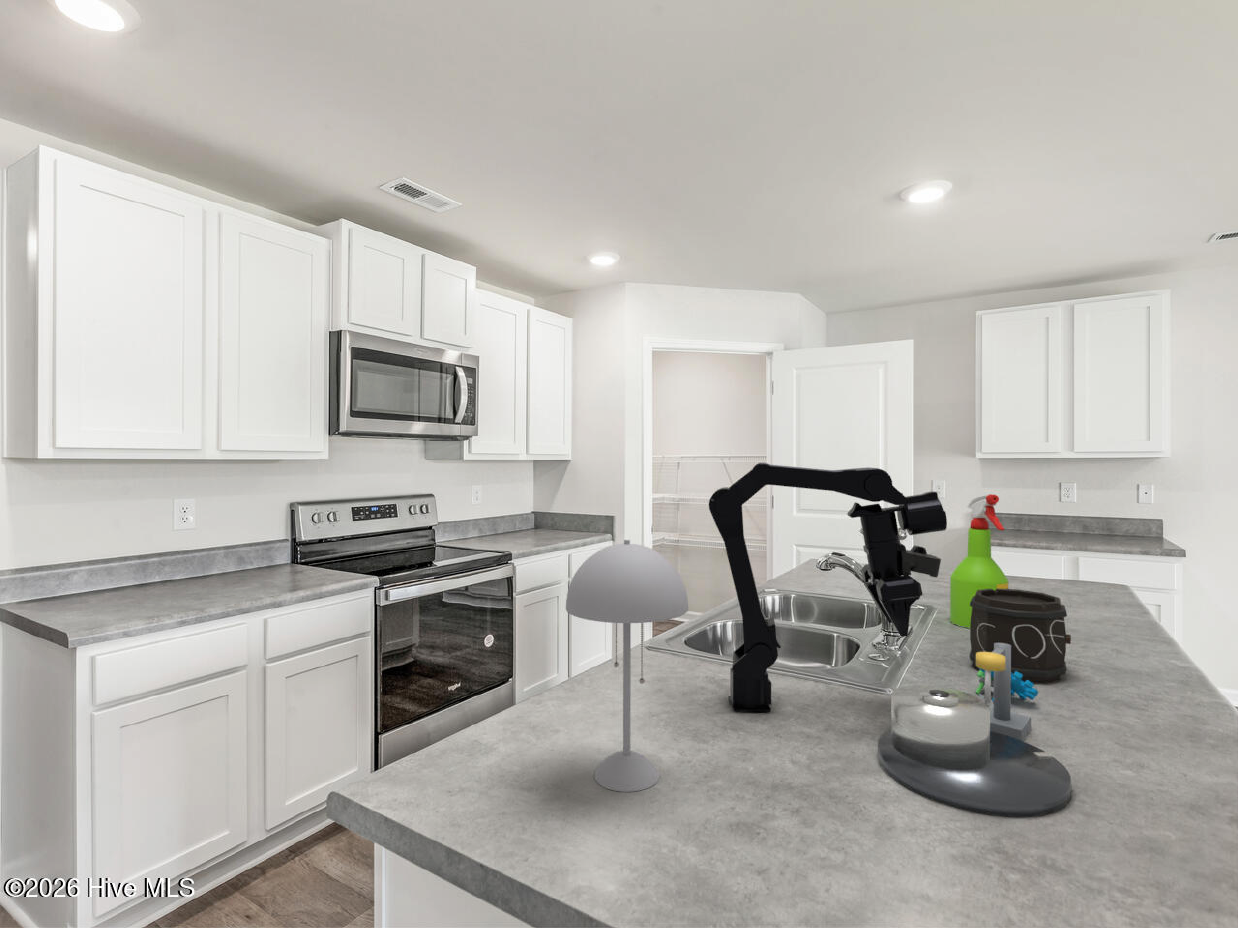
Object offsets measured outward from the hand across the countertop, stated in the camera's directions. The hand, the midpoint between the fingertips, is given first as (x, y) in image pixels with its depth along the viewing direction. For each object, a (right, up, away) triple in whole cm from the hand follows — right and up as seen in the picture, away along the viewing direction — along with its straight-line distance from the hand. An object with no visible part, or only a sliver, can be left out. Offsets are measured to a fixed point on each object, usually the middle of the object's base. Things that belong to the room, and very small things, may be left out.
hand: (897, 628), depth 114 cm
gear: (+23, -15, +8) cm, 29 cm away
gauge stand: (+13, -15, -8) cm, 21 cm away
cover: (-1, -13, -17) cm, 21 cm away
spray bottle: (+48, -15, +60) cm, 78 cm away
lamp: (-47, -16, -21) cm, 54 cm away
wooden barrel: (+36, -15, +24) cm, 46 cm away
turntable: (+2, -15, -19) cm, 25 cm away
